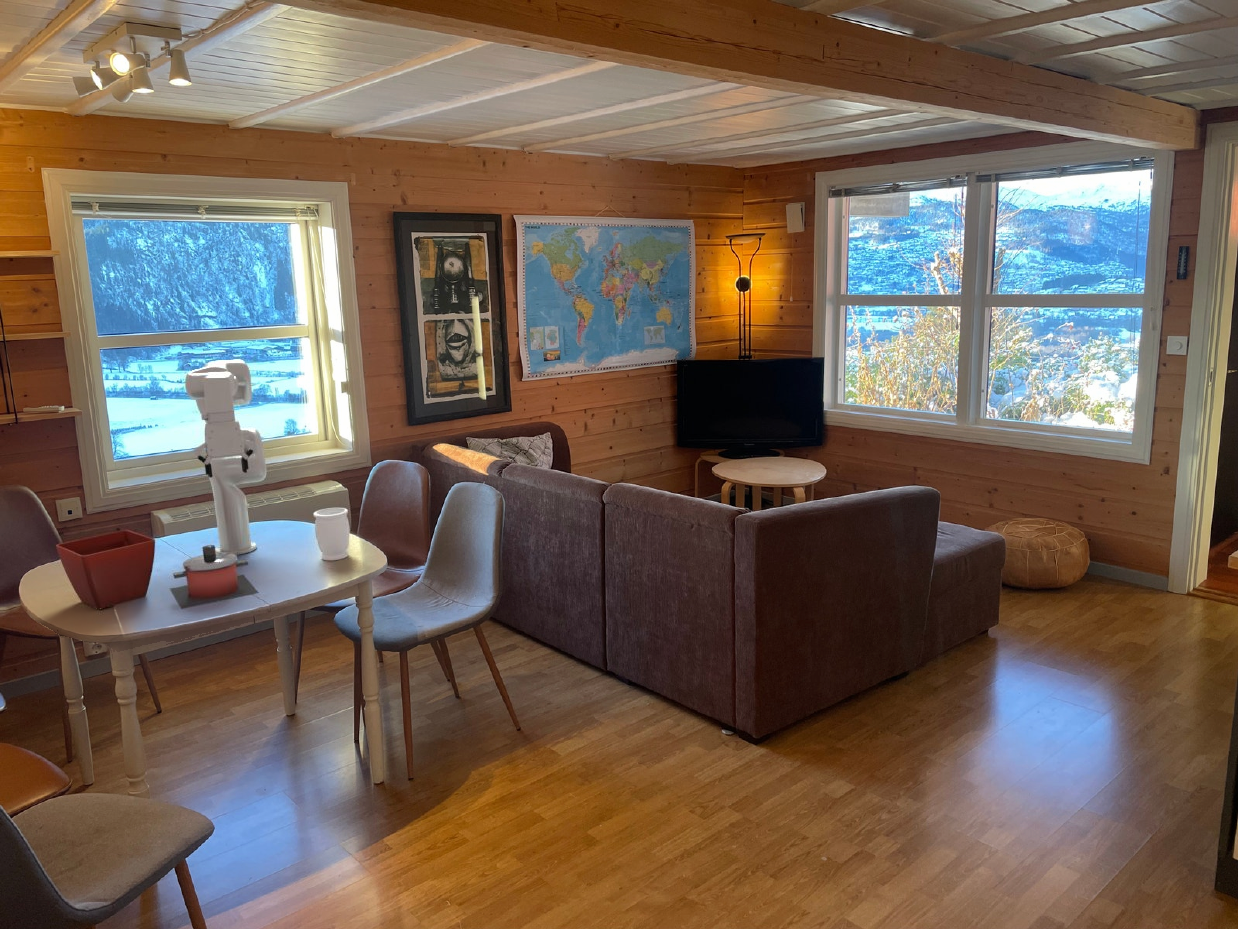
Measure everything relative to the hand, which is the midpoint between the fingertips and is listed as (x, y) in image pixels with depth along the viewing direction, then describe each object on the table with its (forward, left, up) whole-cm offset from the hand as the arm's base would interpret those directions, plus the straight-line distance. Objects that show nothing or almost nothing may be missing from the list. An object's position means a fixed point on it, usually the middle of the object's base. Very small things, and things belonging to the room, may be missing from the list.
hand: (227, 474), depth 269 cm
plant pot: (+4, -34, -31) cm, 46 cm away
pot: (+16, -10, -30) cm, 35 cm away
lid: (+16, -10, -22) cm, 29 cm away
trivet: (+16, -10, -30) cm, 36 cm away
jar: (+4, +28, -31) cm, 42 cm away
